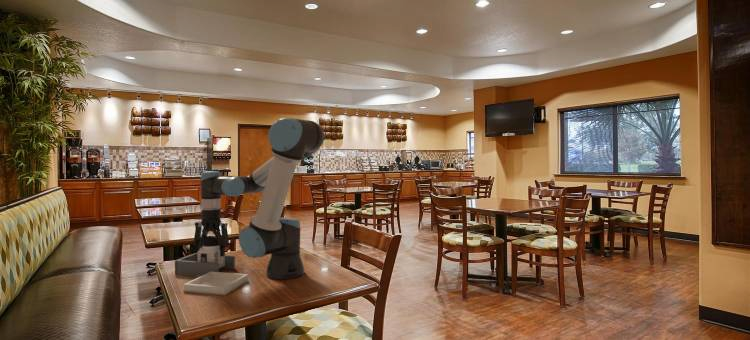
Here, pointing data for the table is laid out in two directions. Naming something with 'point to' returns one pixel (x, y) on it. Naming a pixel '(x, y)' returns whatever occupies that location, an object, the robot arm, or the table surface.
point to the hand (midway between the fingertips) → (211, 263)
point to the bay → (200, 265)
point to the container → (210, 251)
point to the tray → (216, 283)
